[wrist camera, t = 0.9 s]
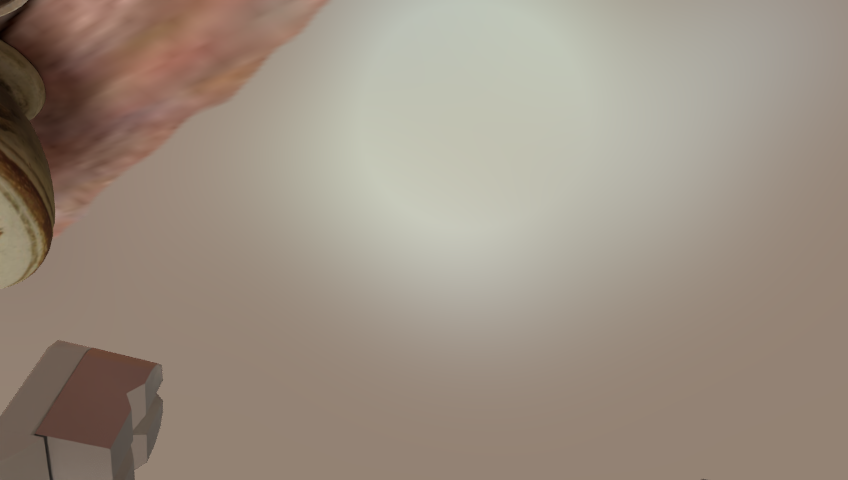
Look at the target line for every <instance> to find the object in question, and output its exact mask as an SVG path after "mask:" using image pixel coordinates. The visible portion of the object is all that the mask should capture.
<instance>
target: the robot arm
mask: <svg viewBox="0 0 848 480" xmlns="http://www.w3.org/2000/svg"><path fill="white" fill-rule="evenodd" d="M162 381H163V376H162V365H161V364H158V363H154V362H150V361H145V360H141V359H137V358H133V357H129V356H125V355H121V354H117V353H112V352H108V351H104V350H100V349H96V348H91V347H86V346H82V345H78V344H73V343H69V342H65V341H60V340H57V341H56V342H55V343H54V344H52V345H51V346H50V347H48V348H47V350H46V351H45V353H44V354H43V356H42V357H41V359H40V360H39V361H38V363H37V364H36V366H35V367H34V369H33V370H32V371H31V373H30V374H29V376H28V377H27V379H26V380H25V382H24V383H23V385H22V386H21V387H20V389H19V390H18V392H17V393H16V394H15V396H14V397H13V399H12V400H11V402H10V403H9V405H8V406H7V407H6V409H5V410H4V412H3V413H2V415H1V416H0V480H135V478H134V477H135V476H134V470H135V469H137V468H139V467H140V466H142V465H143V464H145V463H146V462H147V461H148V459H149V456H150V454H151V452H152V450H153V447H154V445H155V442H156V439H157V436H158V432H159V429H160V426H161V419H162V413H163V400H162V399H161V398H160V397H159V395H158V394H157V391H158V389H159V387H160V385H161V382H162ZM701 480H706V479H701Z"/></svg>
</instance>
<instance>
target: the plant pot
mask: <svg viewBox="0 0 848 480" xmlns="http://www.w3.org/2000/svg"><path fill="white" fill-rule="evenodd" d="M27 1H28V0H0V17H1V16H4V15H6V14H8V13H10V12H12V11H14V10H16V9H18V8H19V7H21V6H22V5H23V4H24V3H26V2H27Z"/></svg>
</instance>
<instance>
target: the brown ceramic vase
mask: <svg viewBox="0 0 848 480" xmlns="http://www.w3.org/2000/svg"><path fill="white" fill-rule="evenodd" d="M45 99H46V96H45V86H44V82H43V80H42V79H41V77H40V75H39V74H38V72H37V70H36V69H35V68H34V67H33V65H32V64H31V63H30V62H29V61H28V60H27V59H26V58H25V57H24V56H23V55H22V54H20V53H19V52H18V51H17V50H16V49H14V48H13V47H11V46H10V45H8V44H6V43H5V42H3V41H2V40H0V289H3V288H6V287H9V286H12V285H15V284H17V283H19V282H21V281H23V280H25V279H26V278H27V277H29V276H30V275H32V274H33V273H34V272H35V271H36V270H37V268H38V267H39V266H40V265H41V264H42V262H43V261H44V259H45V257H46V255H47V254H48V251H49V249H50V245H51V241H52V237H53V227H54V223H55V203H54V191H53V185H52V179H51V175H50V170H49V166H48V162H47V159H46V157H45V154H44V151H43V148H42V146H41V143H40V141H39V139H38V136H37V134H36V132H35V130H34V129H33V127H32V125H31V123H30V122H29V121H30V120H32V119H33V118H34V117H35V116H37V114H38V113H39V112H40V110H41V109H42V107H43V105H44V103H45Z"/></svg>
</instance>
